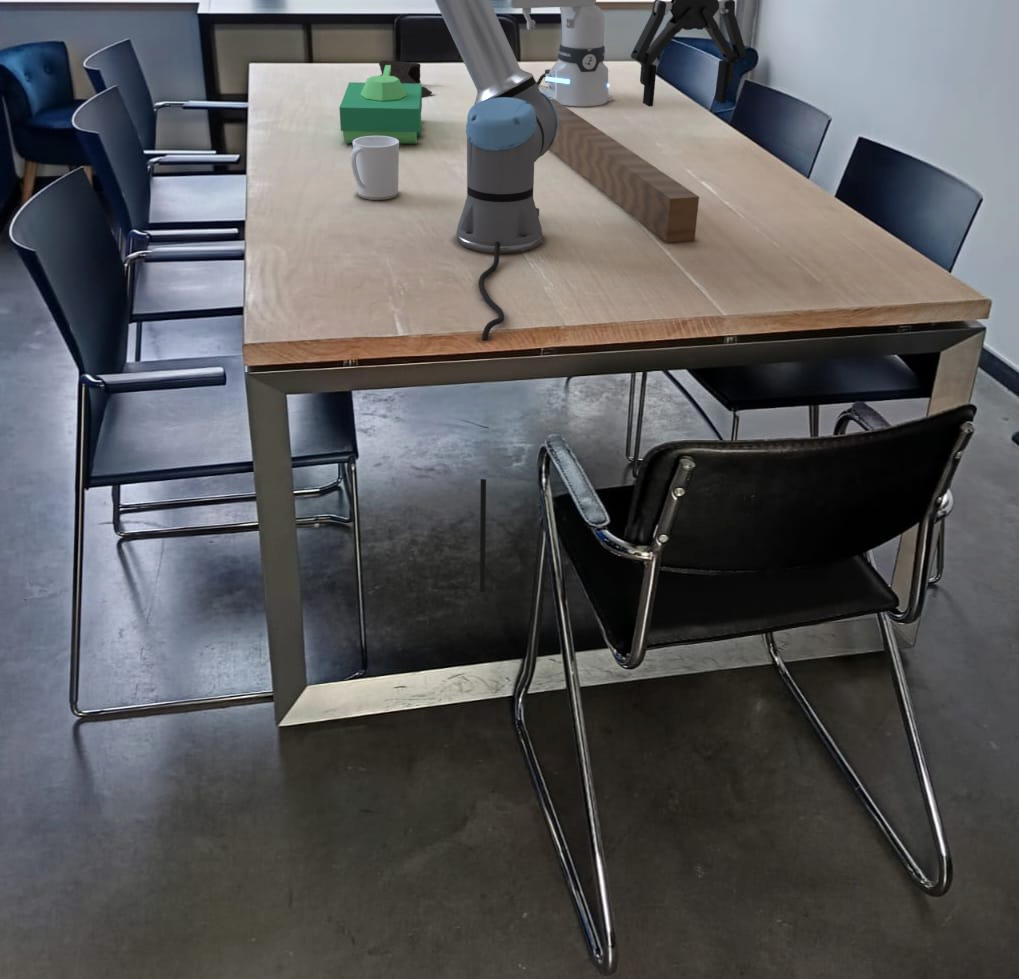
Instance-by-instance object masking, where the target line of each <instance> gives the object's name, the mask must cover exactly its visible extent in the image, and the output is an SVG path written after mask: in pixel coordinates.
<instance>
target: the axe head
mask: <svg viewBox="0 0 1019 979" xmlns="http://www.w3.org/2000/svg"><path fill="white" fill-rule="evenodd" d="M385 65H391V73H390V76H395V77H396V78H398V79H399V80H400V82H401V83H410V84H422V82H421V63H419V62H410V61H408V62H407V61H397V60H388V59H387V60H380V61H379V62H378V66H379V68H380V72H381V74H379V76H381V75H383V72H384V68H385ZM432 94H433V91H431V90H430V89H428V88H427V87H425V86H422V97H425V96H429V95H432Z"/></svg>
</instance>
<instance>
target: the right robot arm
mask: <svg viewBox="0 0 1019 979" xmlns="http://www.w3.org/2000/svg"><path fill="white" fill-rule="evenodd" d="M596 2H597V0H506V3H507V5H508V6H509V7H510V8H512V9H522V11H521V12H522V14H523V16H524V18H525V21H526V29H527V30H529V31H530V30H531V31H532V30H536V21H535V20H534V19H532V18H531V16H530V14H532V9H538V8H540V9H541V8H542V9H544V8H545V9H547V8H559V11H560V19H561V21H560V22H561V41H560V42H561V43H560V44H559V48H558V51H557V61H556V62H555V63H554V65H553V66H552V67H551V68H549V69H544V73H543V74H542V75H541V76H539V78H538V80H537V81H536V84H537V86H538V87H539V86H540V85H541V83H542V81H543V80H544V83H546V84H547V85H548V86H545V87H540V88H539V90H540V92H542V93H544V94H545V95H546V96H547V97H549V98H550V99H555V100H556V101H558V102H559V103H560V104H562V105H563V106H569V107H597V106H602V105H605V104H606V103H607V102H611V101H613V98H614V97H613V95H610V94H609V88H610V83H609V68H608V66H606V65H605V62H604V61H605V55H606V49H605V48H606V47H605V45H604V43H605V42H604V40H605V24H606V17H605V13H604V11H603V10H602V9H601V8H600V7H599V6H598V5H597V4H596ZM457 58H458V59H459V58H461V60H462V61H463V59H462V57H461V55H460V53H459V52H458V54H457Z"/></svg>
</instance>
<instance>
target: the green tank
mask: <svg viewBox="0 0 1019 979" xmlns="http://www.w3.org/2000/svg"><path fill="white" fill-rule="evenodd" d="M390 73H391V65H385V68H384V72H383V75H382V74H380V75H381V76H380V75H371V76H370V77H368V78H367V79H366V80H365V82H356V81H355V82H352V81H349V82H348V84H347V87H346V89H345V92H344V94H343V97H342V99H341V102H340V105H339V123H340V132H342V134H343V140H344V143H345V144H353V140H354V139H356V138H359V137H364V136H388V137H393V138H396V139H397V140H398V141H399V144H406V145H407V144H413V145H415V144H418V137H421V135H422V134H421V130H422V108H423V96H422V87H423V86H422V85H423V84H422V83H419V84H410V83H401V82H400V80H399V79H398V78H396V77H395V76H390Z"/></svg>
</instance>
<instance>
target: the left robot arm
mask: <svg viewBox="0 0 1019 979" xmlns="http://www.w3.org/2000/svg"><path fill="white" fill-rule="evenodd" d="M434 1H435V4H436V6H437V8H438V10H439V12H440V14H441V16H442V19H443V20H444V23H445V25H446V27H447V29H448V31H449V34H450V36H451V38H452V40H453V42H454V44H455V47H456V49H457V50H458V54H459V53H460V55H461V57H462V59H463V60H462V59H461V60H462V61H463V63H464V65H465V68H466V70H467V72H468V74H469V76H470V78H471V80H472V82H473V85H474V87H475V89H476V97H475V100H474V103H473V105H472V106H471V107H470V109H469V110H468V113H467V120H466V125H465V133H466V192H467V193H466V198H465V202H464V205H463V209H462V211H461V214H460V218H459V220H458V224H457V228H456V241H457V243H458V244H459V245H461V246H462V247H464V248H466V249H468V250H470V251H475V252H479V253H486V254H493V262H492V264H491V266H490V267H489V268H488V269H486V270H485V271H484V272H483V273H481V274H480V277H479V279H478V289H479V292H480V294H481V296H482V298H483V300H484V301H485V303H486V304H487V305H488V306H489V307H490V308H491V309H492V310H494V312H496V314H497V318H495V319H492V320H491V321H489V322H487V324H486V325H485V326H484V328H483V331H482V335H481V341H482V342H487V341H488V338H489V335H490V331H491V330H492V328H494V327H495V326H497V325H500V324H503V322H504V320H505V314H504V311H503V309H502V308H501V307H500V306H499V305H498V304H497V303H495V301H494V300H493V299H492V298H491V297H490V295H489V293H488V292H487V290H486V287H485V280H486V279H487V278H488V277H489V276H490V275H491V274H493V273H494V272H495V271H496V269H497V268H498V266H499V263H500V255H506V254H507V255H508V254H517V253H524V252H527V251H530V250H533V249H536V248H538V247H539V246H540V245H541V244H542V243H543V229H542V224H541V221H540V220H541V219H540V218H539V217H540V208H538V207H537V206H536V204H535V199H534V184H535V181H534V180H535V163H536V162H537V161H538V160H539V159H540V157H542V156H544V155H545V154H546V153H547V152H548V151H550V150H549V148H550V147H551V145H552V143H553V141H554V139H555V137H556V134H557V130H558V115H557V111H556V108H555V106H554V104H553V102H552V101H551V100H550V98H549V97H547V96H546V95H545V94H544V93H542V92H540V88H539V85H538V86H537V84H536V82H537V81H536V78H535V77H534V75H533V73H531V72H528V71H527V70H524V69H522V68H521V67H520V65H519V61H518V60H517V58H516V56H515V54H514V51H513V49H512V47H511V45H510V43H509V40H508V38H507V36H506V33H505V31H504V29H503V27H502V25H501V23H500V22H501V21H499V18H498V16H497V13H496V12H495V9H494V7H493V4H492V2H491V0H434ZM669 11H670V13H671V15H672V16H671V17H670V18H669V19H668V21H666V24H665V26H664V28H663V29H662V31H660V33H659V34H658V36H656V34H657V33H658V30H659V29H660V26H661V25H662V23H663V21H664V18H665V16H667V15H668V13H669ZM718 11H719V14H721V16H722V19H723V22H724V26H725V29H726V33H727V37H728V39H729V43H728V41H727V39H726V38H725V36H724V34H723V33H722V31H721V29H720V28H719V24H718V23H717V20H715V17H714V16H715V15H716V14H717V12H718ZM647 20H648V21H647V22H646V23H645V26H644V27H643V30H642V31H641V34H640V36H639V38H638V40H637V42H636V43H635V46H634V48H633V50H632V52H631V54H630V58H631V59H632V60H634V61H636V62H637V63H640V76H639V82H640V84H641V85H643V94H642V95H643V96H642V104H643V105H645V106H647V107H654V99H655V88H656V78H657V77H656V76H657V65H656V64H654V62H655V61H656V60H657V59H658V57H659V56H660V55H661V54H662V52H664V50H665V48H666V47H668V45H669V43H670V42H671V41H672V40H673V38H674V37H675V36H676V35H677V34H679V33H680V31H681V30H685V31H691V30H694V29H695V30H699V31H700V30H704V29H705V31H706V32H707V34H708V35H709V37H710V38H711V39H712V42H713V44H714V45H715V47H716V48H717V50H718V51H719V53H720V54H721V56H722V58H723V59H724V60H718V68H717V76H716V84H715V95H714V101H716V102H718V103H720V104H726V103H727V102H726V101H727V95H728V94H727V93H728V86H729V83H730V82H733V78H734V71H735V64H737V63H738V62H739V60H740V59H745V58H746V57H747V50H746V47H745V43H744V40H743V37H742V33H741V30H740V27H739V23H738V19H737V17H736V1H735V0H670V1H664V0H654V1H653V4H652V10H651V14H650V16H649V18H648V19H647ZM655 36H656V38H655ZM461 57H460V58H461ZM479 503H480V505H479V506H480V509H479V510H480V512H479V514H480V516H479V517H480V519H479V520H480V521H479V522H480V524H479V525H480V528H479V532H480V533H479V592H480V593H486V540H487V539H486V536H487V533H486V531H487V530H486V529H487V528H486V526H487V525H486V524H487V522H486V521H487V519H486V518H487V479H485V478H480V502H479Z"/></svg>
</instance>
